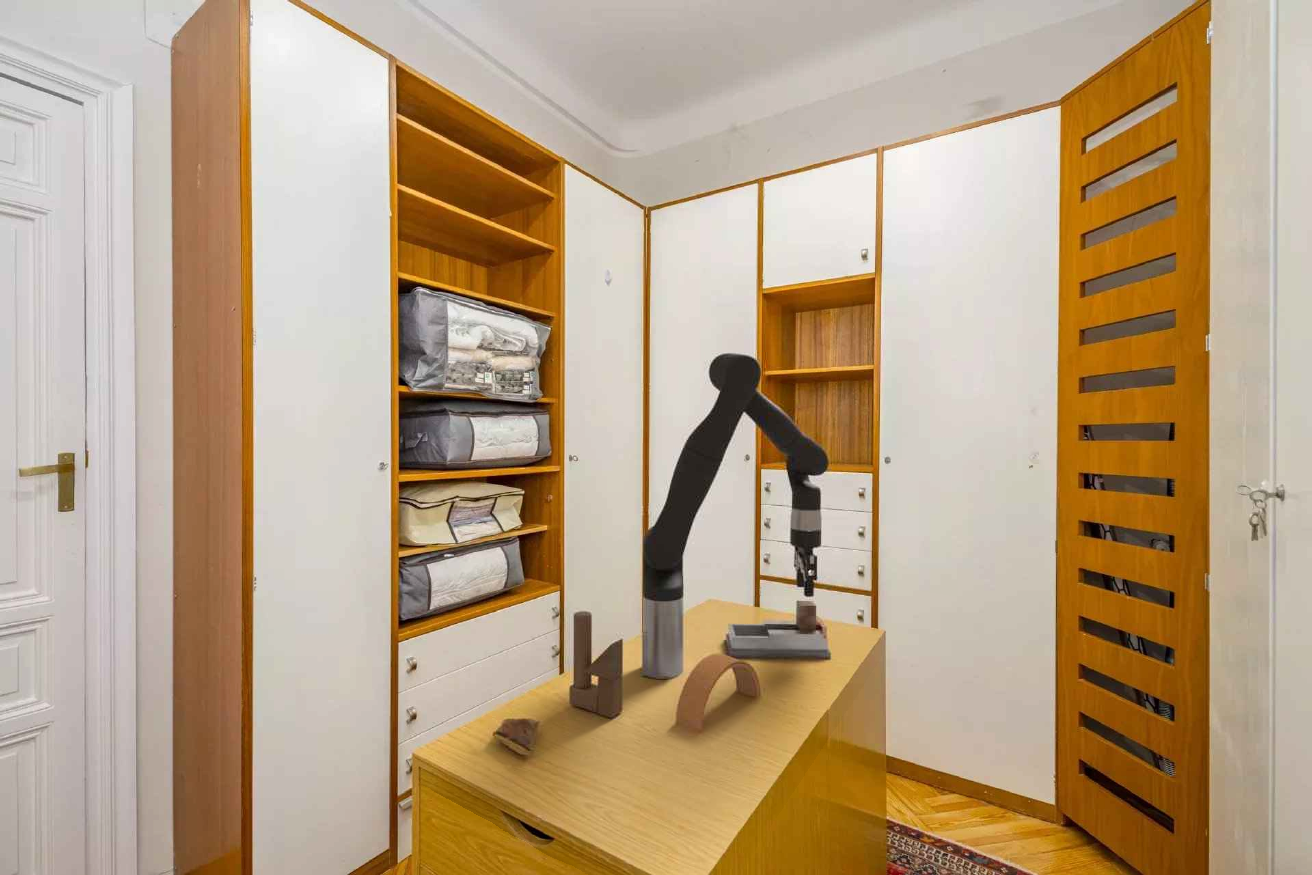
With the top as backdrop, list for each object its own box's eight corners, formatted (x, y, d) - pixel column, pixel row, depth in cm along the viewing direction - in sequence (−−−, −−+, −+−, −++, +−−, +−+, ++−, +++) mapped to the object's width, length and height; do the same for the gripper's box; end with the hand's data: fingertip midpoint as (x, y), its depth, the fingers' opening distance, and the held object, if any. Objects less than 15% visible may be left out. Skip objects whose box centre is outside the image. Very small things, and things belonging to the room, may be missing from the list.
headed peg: (796, 647, 142) (796, 606, 142) (791, 638, 148) (791, 599, 148) (820, 647, 142) (821, 606, 142) (815, 639, 148) (815, 599, 148)
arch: (761, 697, 119) (762, 649, 118) (698, 734, 104) (699, 678, 104) (738, 689, 123) (738, 642, 123) (674, 722, 108) (675, 669, 108)
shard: (530, 759, 95) (530, 748, 95) (483, 761, 94) (482, 750, 94) (540, 727, 106) (540, 717, 106) (498, 728, 105) (498, 718, 105)
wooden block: (611, 719, 109) (612, 624, 109) (568, 704, 115) (568, 614, 115) (623, 711, 112) (623, 618, 112) (580, 697, 118) (580, 609, 118)
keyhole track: (730, 657, 139) (730, 628, 139) (725, 639, 151) (725, 612, 151) (830, 658, 139) (830, 629, 139) (818, 640, 151) (818, 613, 151)
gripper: (785, 522, 152) (784, 583, 152) (796, 531, 138) (795, 599, 138) (813, 522, 152) (812, 584, 152) (828, 531, 138) (827, 600, 138)
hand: (804, 591), depth 145 cm, fingers open, 8 cm apart
